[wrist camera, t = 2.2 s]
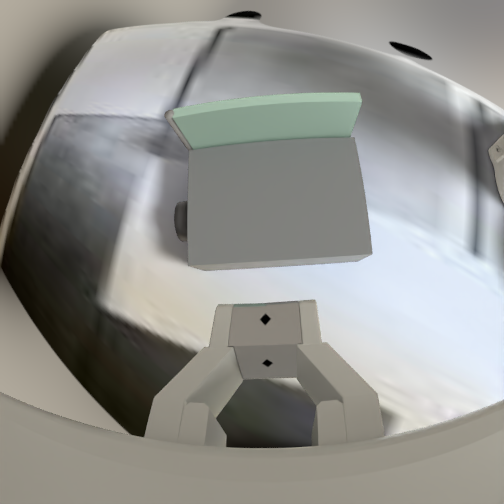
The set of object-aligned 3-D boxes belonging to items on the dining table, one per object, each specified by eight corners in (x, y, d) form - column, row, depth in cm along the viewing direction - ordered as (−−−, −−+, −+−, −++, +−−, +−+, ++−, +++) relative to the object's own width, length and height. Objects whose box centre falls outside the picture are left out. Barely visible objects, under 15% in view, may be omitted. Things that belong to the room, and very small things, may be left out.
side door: (339, 145, 39) (357, 84, 26) (342, 159, 39) (362, 101, 25) (200, 156, 42) (166, 102, 28) (200, 170, 41) (164, 119, 27)
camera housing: (345, 161, 39) (354, 137, 32) (357, 261, 37) (372, 254, 30) (190, 174, 41) (173, 153, 34) (190, 271, 39) (171, 266, 32)
